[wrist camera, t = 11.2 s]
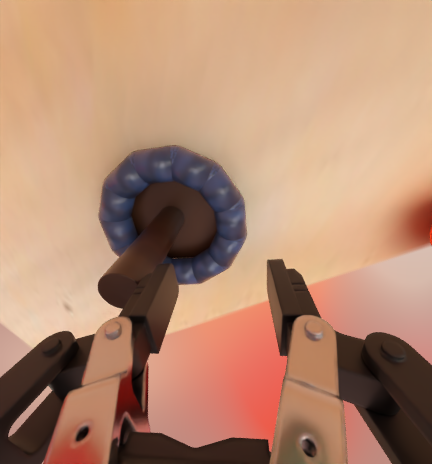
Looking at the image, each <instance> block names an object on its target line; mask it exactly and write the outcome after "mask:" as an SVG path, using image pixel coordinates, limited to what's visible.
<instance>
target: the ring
mask: <svg viewBox="0 0 432 464" xmlns="http://www.w3.org/2000/svg"><path fill="white" fill-rule="evenodd" d="M171 181H175V182H177V183H180V184H182V185H185V186H187V187H189V188H192V189H194V190H196V191H198V192H199V193H200V194H201V195H202V197H203V198H204V199H205V200H206V202H207V203H208V204H209V205H210V207H211V208H212V209H213V210H214V215H215V222H216V229H217V232H216V234H215V236H214V239H213V241H212V243H211V245H210V247H209V248H208V249H206V250H205V251H203V252H201V253H200V254H198V255H197V256H195V257H191V258H176V259H173V258H171V257H168V256H166V258H165V259H164V261H163V263H162V264H164V263H172V264H173V265H174V269H175V273H176V278H177V282H178V285H184V284H200V283H203V282H205V281H207V280H209V279H211V278H212V277H214V276H216V275H218V274H219V273H221V272H223V271H225V270H226V269H228V268H229V267H230V266H231V265H232V263H233V261H234V260H235V258H236V256H237V254H238V252H239V251H240V249H241V247H242V245H243V243H244V242H245V240H246V236H247V229H246V215H245V202H244V198H243V196H242V195H241V193H240V192H239V191H238V189H237V188H236V186H235V185H234V184H233V182H232V181H231V179H230V178H229V177H228V175H227V174H226V172H225V171H224V170H223V168H222V167H221V166H220V165H219V164H218V163H216V162H214V161H212V160H210V159H208V158H206V157H203V156H201V155H199V154H197V153H194V152H192V151H190V150H188V149H185V148H183V147H181V146H176V145H173V146H165V147H158V148H151V149H144V150H137V151H134V152H132V153H131V154H129V155H128V156H127V157H126V158H125V159H124V160H123V161H122V162H121V163H120V164H119V165H118V166H117V167H116V168H115V169H114V170H113V171H112V172H111V173H110V174H109V175H108V176H107V177H106V178H105V180H104V183H103V188H102V195H101V201H100V207H99V214H98V215H99V220H100V223H101V225H102V228H103V230H104V233H105V235H106V238H107V240H108V242H109V245H110V247H111V249H112V251H113V252H114V253H115V254H116V255H117V256H119V257H120V256H121V255H122V254H123V253H124V252H125V250H126V249H127V248H128V247H129V246H130V245H131V244H132V243H133V242H134V240H135V239H136V238H137V237H138V234H137V231H136V228H135V225H134V222H133V219H132V216H131V215H132V211H133V207H134V202H135V198H136V196H137V195H139V194H140V193H141V192H142V191H143V190H144V189H146V188H147V187H148V186H149V185H150V184H154V183H162V182H171Z"/></svg>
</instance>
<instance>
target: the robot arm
mask: <svg viewBox="0 0 432 464" xmlns="http://www.w3.org/2000/svg"><path fill="white" fill-rule="evenodd" d="M178 292H179V288H178V282H177V278H176V273H175V269H174V265H173V264H172V263H164V264H158V265H157V266H156V268H155V270H154V271H153V273H148V274H147V275H146V276H145V277H144V278H142V279H141V281H140V282H139V284H138V286H137V288H136V289H135V290H134V292H133V294H132V295H131V297H130V298H129V300H128V302H127V303H126V305H125V307H124V308H123V310H122V311H121V313H120V315H119V316H118V317H116V318H113V319H110V320H109V321H107V322H105V323H104V324H103V325H102V326H101V327H100V328H99V329H98V330H97V332H96V334H93V335H89V336H85V337H82V338H78V339H75V337H74V336H73V334H72V333H71V332H69V331H62V332H58V333H55V334H53V335H51V336H49V337H47V338H46V339H44V340H43V341H42V342H41V343H39V344H38V345H37V346H36V347H35V348H34V349H32V350H31V351H30V352H29V353H28V354H27V355H26V356H25V357H23V358H22V359H21V360H20V361H19V362H18V363H17V364H15V365H14V366H13V367H12V368H11V369H10V370H9V371H7V372H6V373H5V374H4V375H3V376H2V377H1V378H0V464H42V462H43V461H44V463H43V464H348V459H347V443H346V427H345V412H344V404H343V400H344V401H347V402H350V403H352V404H354V405H355V407H356V408H357V410H358V411H359V413H360V415H361V416H362V418H363V419H364V421H365V422H366V424H367V426H368V427H369V428H370V430H371V432H372V433H373V435H374V436H375V438H376V440H377V441H378V443H379V444H380V446H381V447H382V449H383V450H384V452H385V454H386V455H387V457H388V458H389V460H390V461H391V463H392V464H432V365H431V364H430V363H428V361H426V360H425V359H424V358H423V357H422V356H421V355H420V354H419V353H418V352H416V350H415V349H413V348H412V347H411V346H410V345H409V344H407V343H406V342H405V341H403V340H401V339H400V338H398V337H396V336H393V335H390V334H387V333H382V332H375V333H371V334H369V335H368V336H367V337H366V339H365V340H362V339H358V338H355V337H351V336H347V335H344V334H341V333H339V332H336V331H335V330H334V329H333V328H332V326H331V325H330V324H329V323H328V322H326V321H325V320H323V319H322V318H321V317H320V314H319V312H318V310H317V308H316V306H315V304H314V301H313V299H312V297H311V295H310V293H309V291H308V288H307V286H306V285H305V282H304V280H303V277H302V275H301V274H300V273H298V272H297V271H296V270H295V269H286V267H285V264H284V262H283V260H282V259H275V260H267V292H268V298H269V303H270V307H271V313H272V317H273V322H274V327H275V332H276V337H277V342H278V347H279V352H280V356H287V358H288V359H287V366H286V372H285V377H284V379H283V384H282V390H281V396H280V402H279V409H278V415H277V421H276V427H275V433H274V440H273V446H272V452H270V451H269V445H268V440H265V439H248V438H229V439H226V440H222V441H219V442H215V443H212V444H209V445H205V446H202V447H199V448H192V447H190V446H188V445H186V444H184V443H181V442H179V441H177V440H175V439H173V438H171V437H168V436H166V435H164V434H162V433H151V432H150V425H149V421H148V363H147V360H148V357H149V355H150V353H156V354H158V353H159V351H160V348H161V345H162V342H163V339H164V336H165V333H166V330H167V327H168V324H169V321H170V318H171V315H172V312H173V310H174V307H175V304H176V301H177V298H178ZM47 386H49V387H50V388H51V389H52V392H51V393H50V394H49V395H48V396H47V397H46V399H45V400H44V401H43V402H42V403H41V404H40V405H39V406H38V407H37V409H36V410H35V411H34V412H33V413H32V414H31V415H30V416H29V418H28V419H27V420H26V421H25V422H24V423H23V424H22V425H21V427H20V428H19V429H18V430H17V431H16V432H15V433H14V434H13V435H12V436H10V437H8V433H9V430H10V428H11V426H12V425H13V423H14V422H15V421H16V420H17V418H18V417H19V416H20V415H21V414H22V413H23V412H24V411H25V410H26V409H27V408H28V406H29V405H30V404H31V403H32V402H33V401H34V400H35V399H36V398H37V397H38V396H39V395H40V394H41V393H42V391H43V390H44V389H45V388H46V387H47Z"/></svg>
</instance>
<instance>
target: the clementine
mask: <svg viewBox="0 0 432 464" xmlns="http://www.w3.org/2000/svg"><path fill="white" fill-rule="evenodd" d="M430 243H431V245H432V226H431V229H430Z"/></svg>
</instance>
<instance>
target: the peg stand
mask: <svg viewBox="0 0 432 464" xmlns="http://www.w3.org/2000/svg"><path fill="white" fill-rule="evenodd" d="M131 216H132V219H133V222H134V225H135V228H136V231H137V234H138V237H137V238H136V239H135V240H134V242H133V243H132V244H131V245H130V246H129V247H128V248H127V249H126V250H125V252H124V253H123V254H122V255H121V256H120V257H119V258H118V259H117V261H116V262H115V263H114V264H113V265H112V266H111V267H110V268H109V269H108V271H107V272H106V273H105V274H104V275H103V276H102V277H101V278H100V280H99V282H98V291H99V293H100V295H101V296H102V298H103V299H104V300H105V301H106V302H108V303H109V304H111V305H113V306H115V307H118V308H122V309H123V308H124V307H125V305H126V303H127V302H128V300H129V298H130V297H131V295H132V294H133V292H134V290H135V289H136V288H137V286H138V284H139V282H140V281H141V279H142V278H144V277H145V276H146V275H147V274H148V273H153V271H154V270H155V268H156V266H157V265H158V264H162V263H163V261H164V259H165V258H166V256H168V257H171V258H186V257H195V256H197V255H198V254H200V253H201V252H203V251H205V250H206V249H208V248H209V247H210V245H211V243H212V241H213V239H214V236H215V234H216V232H217V229H216V222H215V215H214V210H213V209H212V208H211V207H210V205H209V204H208V203H207V202H206V200H205V199H204V198H203V197H202V195H201V194H200V193H199V192H198V191H196V190H194V189H192V188H189V187H187V186H185V185H182V184H180V183H177V182H175V181H171V182H162V183H154V184H150V185H149V186H148V187H147V188H146V189H144V190H143V191H142V192H141V193H140V194H139V195H137V196H136V198H135V202H134V207H133V211H132V215H131Z"/></svg>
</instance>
